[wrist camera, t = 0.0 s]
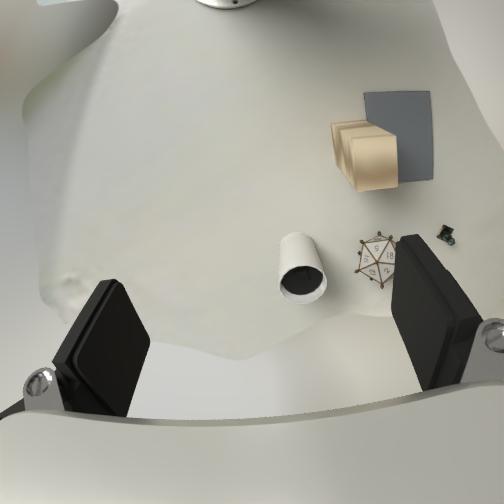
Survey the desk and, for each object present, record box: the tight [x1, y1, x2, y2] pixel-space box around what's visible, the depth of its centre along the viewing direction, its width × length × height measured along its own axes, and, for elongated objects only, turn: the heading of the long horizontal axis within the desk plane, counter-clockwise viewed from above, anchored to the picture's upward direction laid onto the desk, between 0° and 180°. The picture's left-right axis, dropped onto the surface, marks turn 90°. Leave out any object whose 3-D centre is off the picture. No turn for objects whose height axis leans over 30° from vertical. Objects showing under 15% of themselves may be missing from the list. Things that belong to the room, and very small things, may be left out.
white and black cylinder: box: [279, 232, 327, 304], centre depth 47 cm, size 7×7×10 cm
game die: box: [354, 231, 396, 289], centre depth 48 cm, size 9×8×10 cm
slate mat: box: [364, 91, 433, 183], centre depth 41 cm, size 14×11×1 cm
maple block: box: [331, 120, 398, 192], centre depth 37 cm, size 6×5×12 cm
